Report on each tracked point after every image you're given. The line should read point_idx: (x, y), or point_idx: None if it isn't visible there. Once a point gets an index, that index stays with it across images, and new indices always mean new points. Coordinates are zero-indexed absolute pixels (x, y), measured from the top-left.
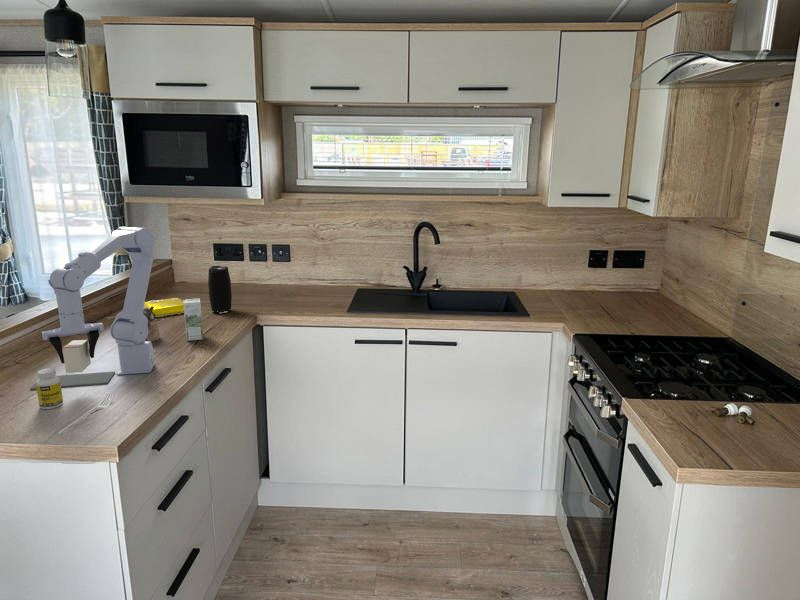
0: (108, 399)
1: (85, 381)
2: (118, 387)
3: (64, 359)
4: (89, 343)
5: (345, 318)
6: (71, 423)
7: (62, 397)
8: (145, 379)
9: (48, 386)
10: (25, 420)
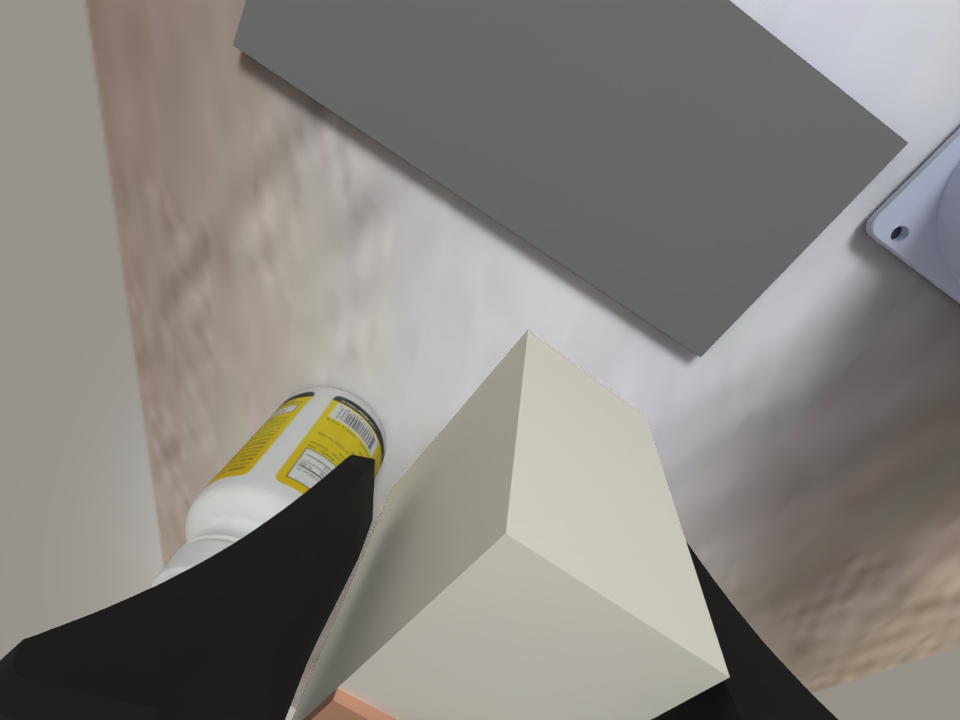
0: None
1: (602, 218)
2: (705, 453)
3: (350, 595)
4: (681, 706)
5: None
6: None
7: (377, 468)
8: (908, 453)
9: None
10: None
